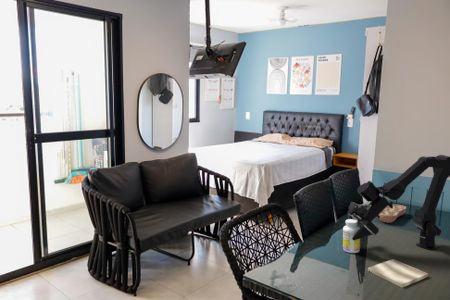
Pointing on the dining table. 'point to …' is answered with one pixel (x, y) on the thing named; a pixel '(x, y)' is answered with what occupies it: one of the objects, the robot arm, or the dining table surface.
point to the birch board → (398, 272)
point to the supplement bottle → (350, 237)
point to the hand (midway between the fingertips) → (348, 235)
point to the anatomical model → (392, 213)
